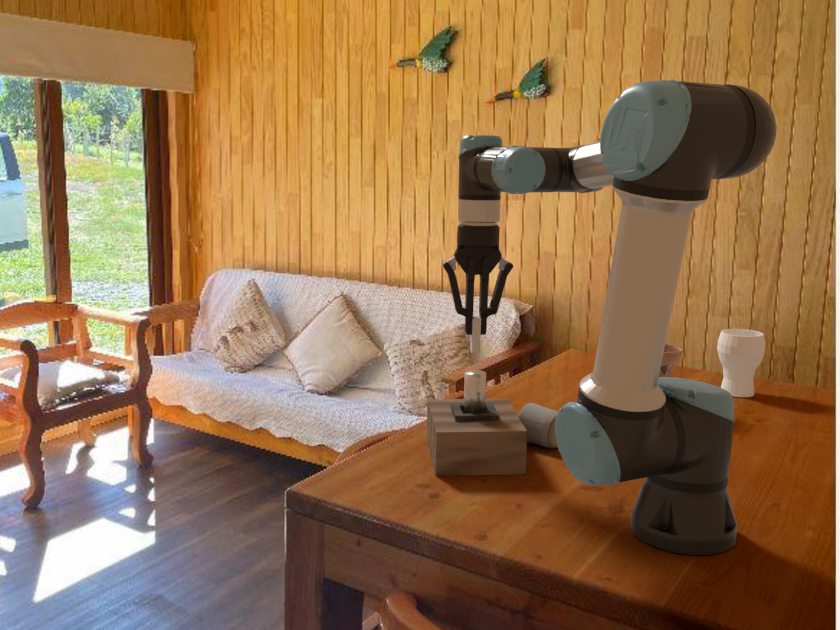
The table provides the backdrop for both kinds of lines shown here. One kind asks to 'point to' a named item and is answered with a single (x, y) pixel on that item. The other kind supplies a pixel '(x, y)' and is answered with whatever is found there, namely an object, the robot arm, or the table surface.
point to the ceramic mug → (539, 424)
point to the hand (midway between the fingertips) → (475, 351)
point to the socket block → (475, 438)
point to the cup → (740, 359)
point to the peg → (474, 391)
